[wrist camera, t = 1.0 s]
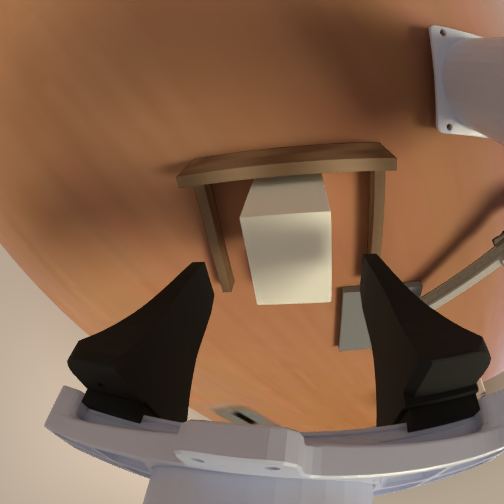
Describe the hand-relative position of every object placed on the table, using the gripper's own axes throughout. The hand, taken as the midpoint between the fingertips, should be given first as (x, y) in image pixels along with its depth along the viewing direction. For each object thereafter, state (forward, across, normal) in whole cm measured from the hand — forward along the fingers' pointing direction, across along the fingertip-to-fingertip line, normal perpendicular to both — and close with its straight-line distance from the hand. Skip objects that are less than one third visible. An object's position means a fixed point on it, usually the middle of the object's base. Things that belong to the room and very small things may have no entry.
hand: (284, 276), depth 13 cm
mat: (+10, -8, +14) cm, 20 cm away
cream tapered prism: (+10, 0, +1) cm, 11 cm away
